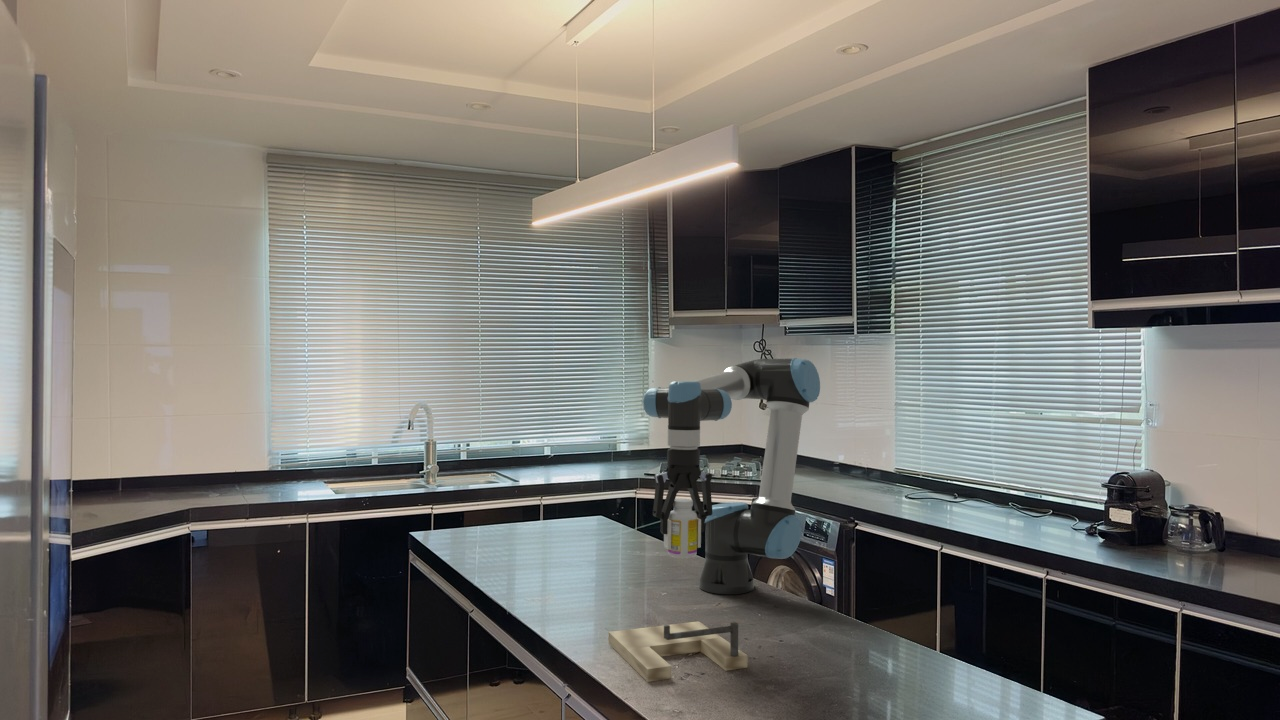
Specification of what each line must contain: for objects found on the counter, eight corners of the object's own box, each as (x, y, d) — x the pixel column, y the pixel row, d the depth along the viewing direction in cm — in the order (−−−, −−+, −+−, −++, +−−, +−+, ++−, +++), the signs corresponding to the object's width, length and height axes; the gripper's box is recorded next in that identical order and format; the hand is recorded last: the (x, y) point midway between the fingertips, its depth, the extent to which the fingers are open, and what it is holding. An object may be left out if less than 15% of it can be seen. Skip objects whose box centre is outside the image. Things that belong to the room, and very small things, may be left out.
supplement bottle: (695, 553, 200) (696, 498, 200) (697, 559, 193) (698, 502, 194) (667, 552, 200) (668, 497, 200) (668, 558, 193) (669, 502, 193)
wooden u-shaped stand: (698, 632, 197) (698, 588, 197) (747, 667, 174) (747, 617, 174) (608, 643, 189) (608, 597, 189) (647, 681, 167) (647, 629, 167)
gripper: (715, 445, 204) (714, 541, 203) (638, 446, 197) (636, 546, 197) (729, 448, 197) (727, 548, 196) (649, 450, 190) (647, 553, 190)
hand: (682, 547), depth 197 cm, fingers closed on supplement bottle, 7 cm apart
